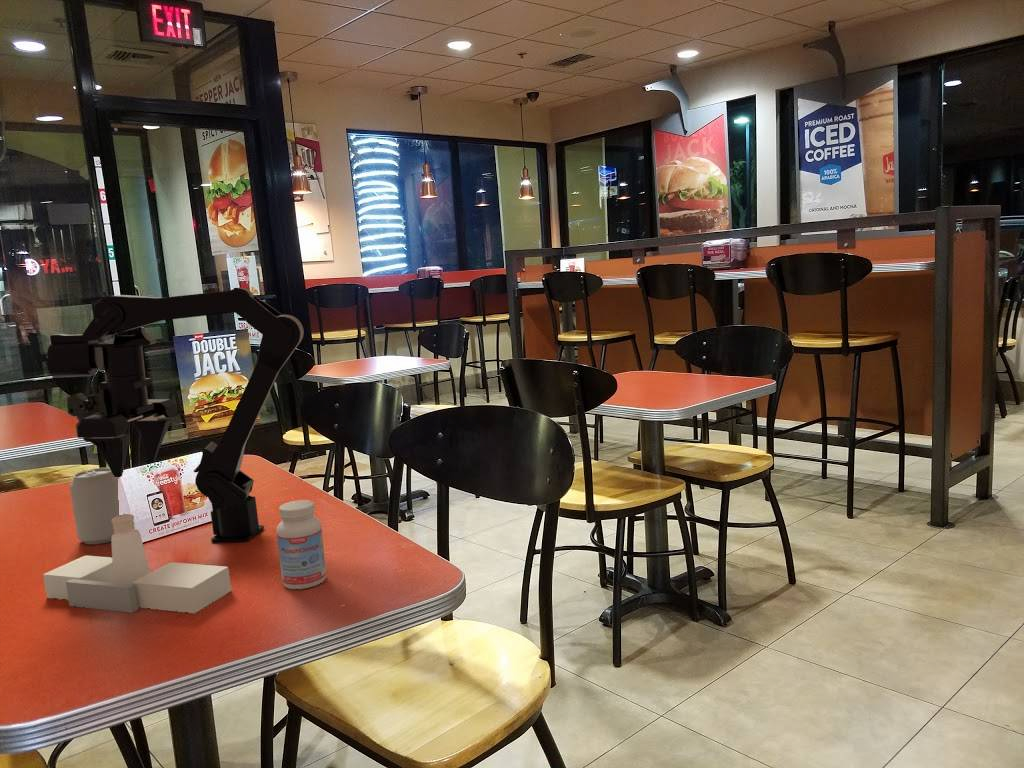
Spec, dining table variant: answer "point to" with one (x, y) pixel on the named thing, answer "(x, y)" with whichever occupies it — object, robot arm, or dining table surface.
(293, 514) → the pill bottle
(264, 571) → the dining table surface
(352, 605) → the dining table surface
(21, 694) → the dining table surface
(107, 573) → the grey block set
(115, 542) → the pepper shaker
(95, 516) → the can
